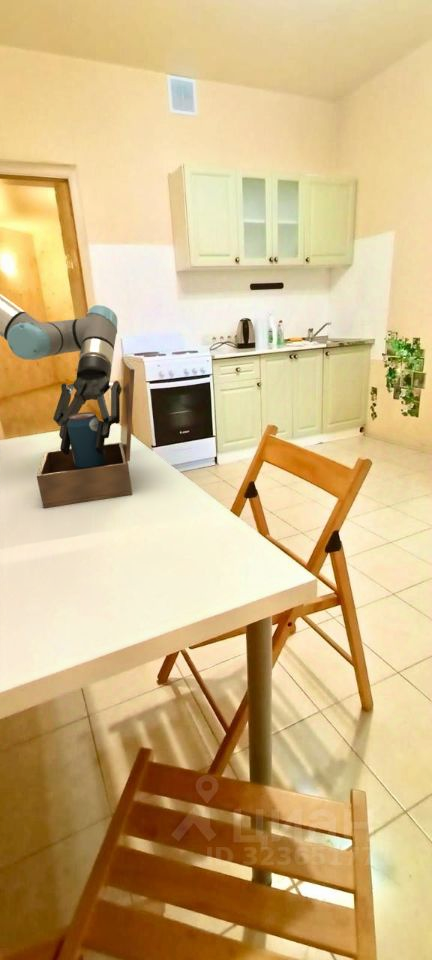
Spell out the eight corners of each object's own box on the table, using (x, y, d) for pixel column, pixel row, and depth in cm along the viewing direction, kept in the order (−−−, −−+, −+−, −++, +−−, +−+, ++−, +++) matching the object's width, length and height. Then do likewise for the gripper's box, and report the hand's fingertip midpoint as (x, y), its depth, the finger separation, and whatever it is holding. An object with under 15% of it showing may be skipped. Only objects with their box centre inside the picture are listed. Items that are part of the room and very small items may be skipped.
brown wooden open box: (43, 508, 89) (36, 476, 87) (50, 479, 105) (44, 451, 103) (132, 494, 93) (128, 463, 90) (126, 468, 109) (122, 442, 106)
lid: (130, 369, 84) (134, 369, 85) (124, 361, 101) (127, 361, 101) (125, 461, 90) (129, 461, 90) (120, 440, 106) (123, 440, 106)
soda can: (113, 465, 101) (105, 413, 96) (86, 475, 96) (76, 420, 92) (95, 460, 105) (87, 410, 101) (69, 469, 100) (59, 416, 96)
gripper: (140, 372, 107) (131, 457, 98) (61, 376, 109) (45, 460, 100) (132, 351, 100) (121, 440, 91) (47, 356, 102) (28, 444, 93)
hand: (81, 451), depth 95 cm, fingers closed on soda can, 7 cm apart
